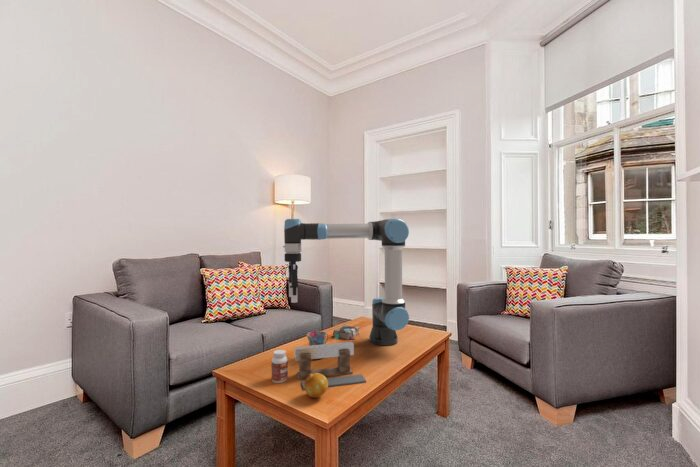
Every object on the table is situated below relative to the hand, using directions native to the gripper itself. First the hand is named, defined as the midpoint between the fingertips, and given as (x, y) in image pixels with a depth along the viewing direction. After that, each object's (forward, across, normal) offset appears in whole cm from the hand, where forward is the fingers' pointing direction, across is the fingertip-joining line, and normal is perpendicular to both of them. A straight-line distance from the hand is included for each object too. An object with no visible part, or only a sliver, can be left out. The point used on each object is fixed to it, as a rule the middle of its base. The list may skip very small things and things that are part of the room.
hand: (293, 299), depth 151 cm
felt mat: (+27, +28, +13) cm, 41 cm away
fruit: (+28, +37, +5) cm, 46 cm away
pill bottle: (+28, +20, -7) cm, 35 cm away
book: (+28, -26, +31) cm, 49 cm away
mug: (+28, -1, +12) cm, 30 cm away
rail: (+20, +19, +11) cm, 30 cm away
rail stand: (+27, +19, +11) cm, 35 cm away
